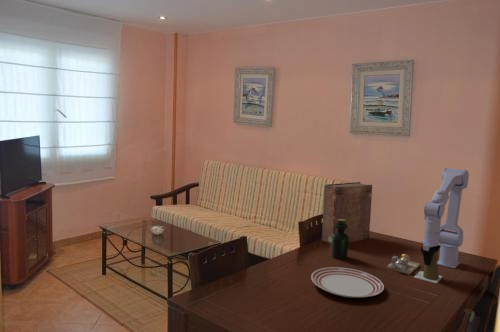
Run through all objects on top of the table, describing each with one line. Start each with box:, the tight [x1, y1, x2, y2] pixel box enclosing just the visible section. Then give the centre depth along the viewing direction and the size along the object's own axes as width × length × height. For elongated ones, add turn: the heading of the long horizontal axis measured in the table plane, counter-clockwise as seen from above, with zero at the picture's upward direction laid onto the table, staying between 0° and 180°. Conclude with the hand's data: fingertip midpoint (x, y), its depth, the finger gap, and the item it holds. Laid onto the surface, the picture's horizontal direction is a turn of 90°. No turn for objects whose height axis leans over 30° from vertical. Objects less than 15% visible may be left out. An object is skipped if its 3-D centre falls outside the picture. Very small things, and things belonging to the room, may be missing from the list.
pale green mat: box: [413, 270, 443, 284], centre depth 176 cm, size 9×9×1 cm
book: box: [321, 181, 373, 245], centre depth 224 cm, size 25×9×30 cm, turn 120°
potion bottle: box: [331, 219, 350, 260], centre depth 197 cm, size 8×8×18 cm
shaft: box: [394, 253, 411, 267], centre depth 184 cm, size 11×4×4 cm, turn 142°
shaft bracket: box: [386, 255, 421, 275], centre depth 187 cm, size 14×10×6 cm
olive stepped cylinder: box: [423, 251, 440, 279], centre depth 175 cm, size 6×6×11 cm
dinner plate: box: [310, 266, 385, 299], centre depth 163 cm, size 27×27×3 cm
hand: (429, 263), depth 175 cm, fingers open, 5 cm apart
